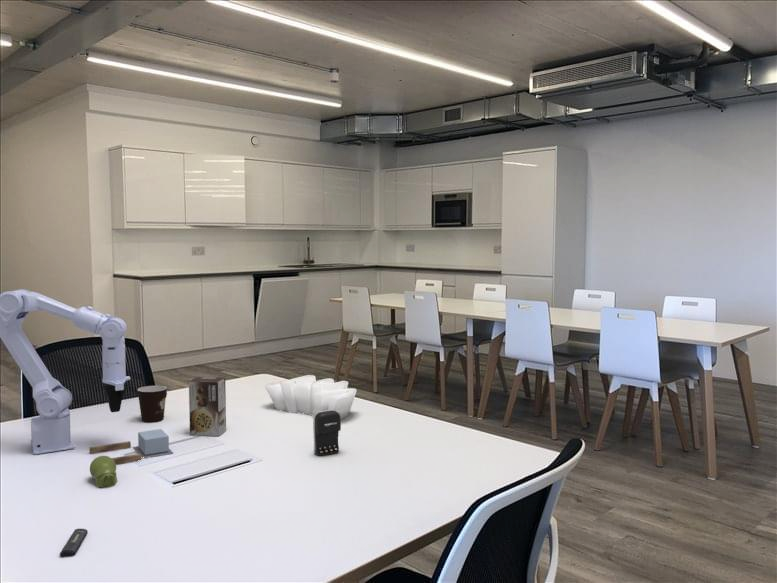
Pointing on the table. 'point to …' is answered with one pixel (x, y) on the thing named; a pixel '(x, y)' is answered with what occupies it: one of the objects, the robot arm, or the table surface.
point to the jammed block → (153, 441)
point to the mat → (151, 454)
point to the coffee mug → (152, 403)
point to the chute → (116, 447)
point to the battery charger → (326, 432)
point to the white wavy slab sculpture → (312, 395)
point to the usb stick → (73, 543)
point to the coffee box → (207, 406)
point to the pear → (103, 471)
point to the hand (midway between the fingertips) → (115, 411)
